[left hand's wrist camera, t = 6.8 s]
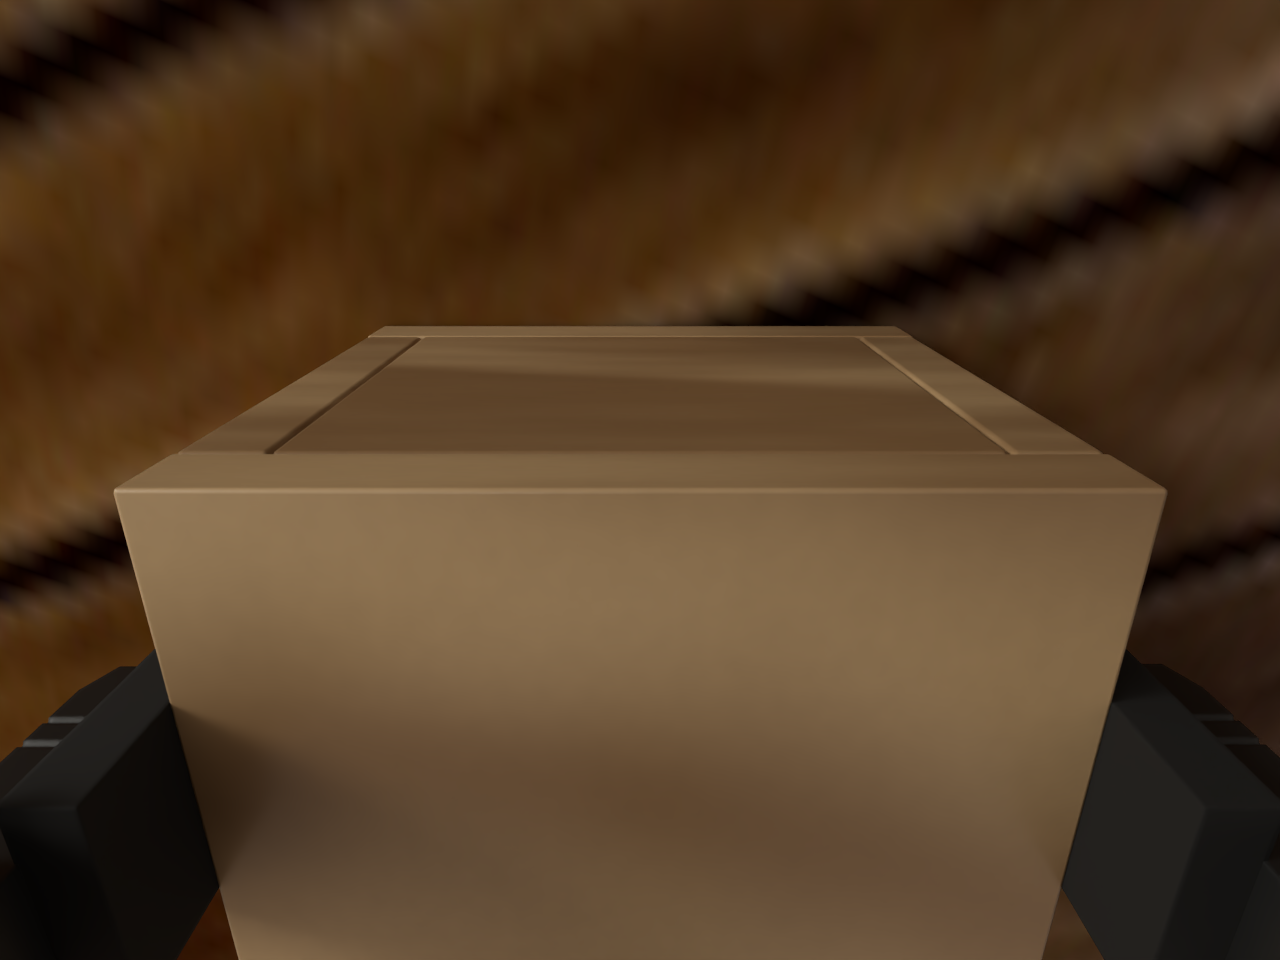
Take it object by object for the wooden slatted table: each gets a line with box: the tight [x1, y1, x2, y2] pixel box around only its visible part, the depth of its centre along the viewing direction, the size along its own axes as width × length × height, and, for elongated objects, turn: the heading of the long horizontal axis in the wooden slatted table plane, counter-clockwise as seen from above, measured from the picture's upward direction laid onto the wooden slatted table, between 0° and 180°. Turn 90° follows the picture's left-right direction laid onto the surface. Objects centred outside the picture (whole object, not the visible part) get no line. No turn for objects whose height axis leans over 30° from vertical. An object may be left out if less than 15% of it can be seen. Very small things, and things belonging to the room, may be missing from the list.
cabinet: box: [114, 326, 1167, 960], centre depth 15 cm, size 22×10×9 cm, turn 0°
